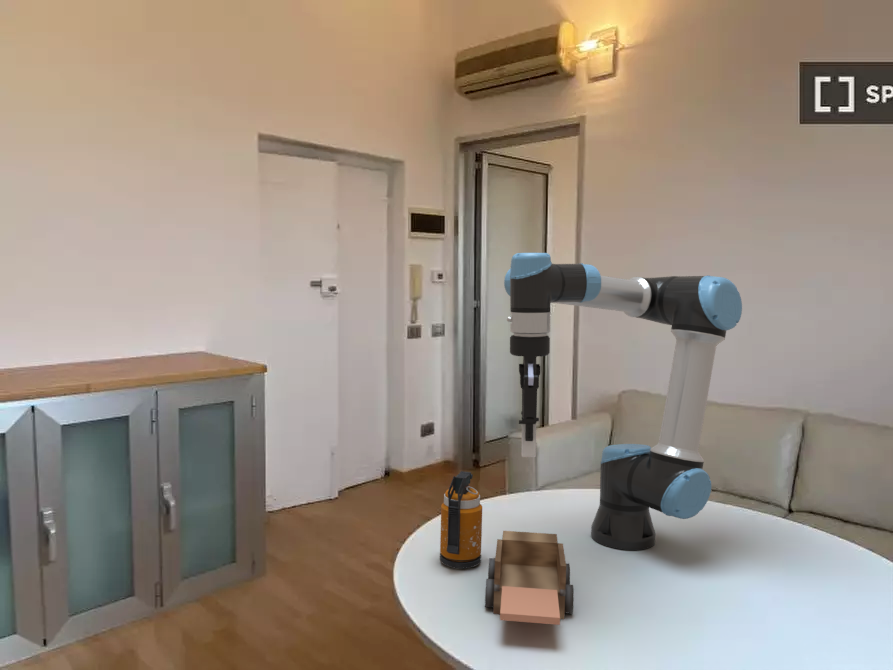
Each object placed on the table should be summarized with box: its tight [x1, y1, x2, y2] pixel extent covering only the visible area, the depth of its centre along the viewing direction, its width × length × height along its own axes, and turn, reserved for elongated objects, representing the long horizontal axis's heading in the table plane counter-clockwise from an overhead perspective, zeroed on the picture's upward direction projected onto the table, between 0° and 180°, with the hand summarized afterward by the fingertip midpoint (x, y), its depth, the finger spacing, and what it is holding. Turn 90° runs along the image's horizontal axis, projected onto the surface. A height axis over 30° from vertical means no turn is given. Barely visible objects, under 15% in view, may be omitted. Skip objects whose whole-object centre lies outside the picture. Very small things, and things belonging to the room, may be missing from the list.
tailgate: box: [499, 586, 561, 626], centre depth 118 cm, size 10×2×10 cm
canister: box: [439, 470, 483, 570], centre depth 146 cm, size 9×11×20 cm
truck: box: [484, 530, 575, 620], centre depth 132 cm, size 16×17×10 cm
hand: (528, 456), depth 130 cm, fingers closed
